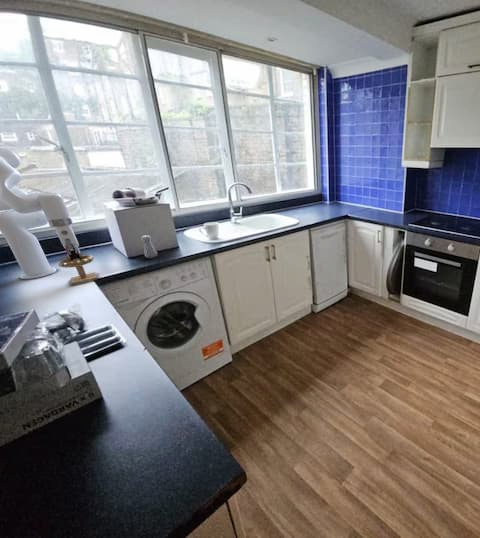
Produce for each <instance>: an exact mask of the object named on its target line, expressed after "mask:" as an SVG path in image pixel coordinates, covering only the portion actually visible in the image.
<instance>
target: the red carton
mask: <svg viewBox="0 0 480 538" xmlns="http://www.w3.org/2000/svg"><path fill="white" fill-rule="evenodd" d="M75 247H76V249H77V251H78V252H79V255H82V253H81V250H80V248H79V246H78V247H77V246H75ZM64 250H65V251H66V254H67V257H70V256H69V252H68V250H67V249H66V248H64Z"/></svg>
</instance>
